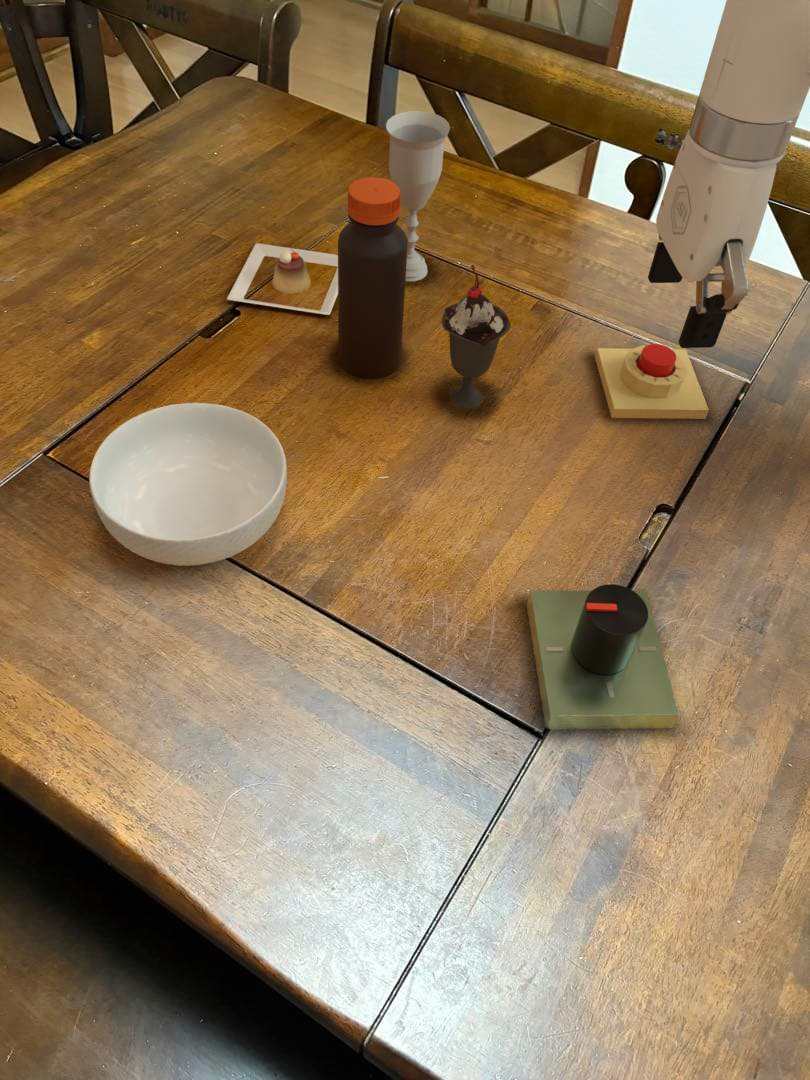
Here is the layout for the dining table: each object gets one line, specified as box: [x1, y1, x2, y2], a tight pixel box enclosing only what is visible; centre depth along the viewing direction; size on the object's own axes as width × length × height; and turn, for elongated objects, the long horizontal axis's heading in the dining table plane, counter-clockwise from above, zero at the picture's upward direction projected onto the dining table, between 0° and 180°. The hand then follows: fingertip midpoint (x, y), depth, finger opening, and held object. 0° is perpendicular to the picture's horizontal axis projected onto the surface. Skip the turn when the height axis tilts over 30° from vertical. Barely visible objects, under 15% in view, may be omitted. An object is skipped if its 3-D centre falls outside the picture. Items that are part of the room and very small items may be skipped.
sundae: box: [441, 264, 512, 409], centre depth 91 cm, size 7×7×15 cm
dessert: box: [226, 242, 338, 316], centre depth 106 cm, size 12×12×5 cm
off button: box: [638, 343, 676, 378], centre depth 96 cm, size 4×4×2 cm
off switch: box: [594, 344, 710, 420], centre depth 98 cm, size 10×10×4 cm
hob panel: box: [526, 589, 679, 730], centre depth 74 cm, size 10×12×3 cm
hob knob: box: [572, 583, 648, 675], centre depth 71 cm, size 5×5×6 cm
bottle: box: [337, 176, 408, 380], centre depth 92 cm, size 7×7×20 cm
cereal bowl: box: [88, 402, 288, 567], centre depth 81 cm, size 17×17×7 cm
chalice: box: [385, 110, 451, 282], centre depth 104 cm, size 7×7×18 cm
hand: (679, 312), depth 83 cm, fingers open, 9 cm apart
